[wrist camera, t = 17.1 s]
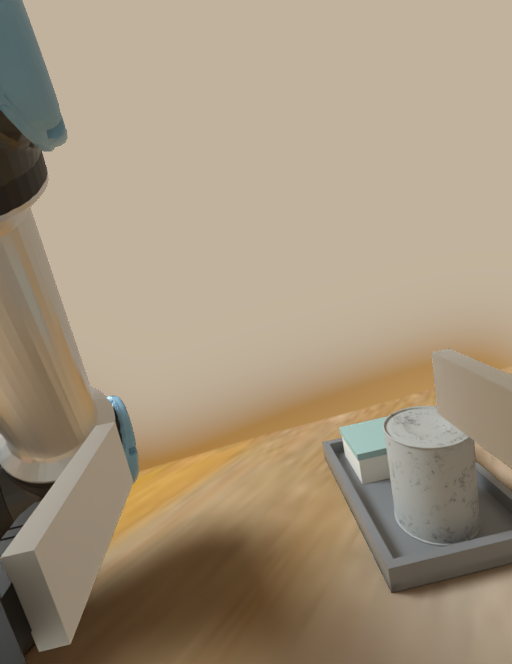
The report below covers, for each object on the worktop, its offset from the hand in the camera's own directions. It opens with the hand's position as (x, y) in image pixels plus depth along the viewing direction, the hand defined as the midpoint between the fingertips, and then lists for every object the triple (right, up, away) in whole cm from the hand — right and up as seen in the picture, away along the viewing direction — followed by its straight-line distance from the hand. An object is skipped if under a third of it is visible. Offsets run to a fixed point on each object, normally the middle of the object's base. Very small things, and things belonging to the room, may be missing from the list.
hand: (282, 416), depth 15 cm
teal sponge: (+20, -16, +43) cm, 50 cm away
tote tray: (+21, -19, +37) cm, 46 cm away
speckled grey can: (+21, -19, +31) cm, 42 cm away
